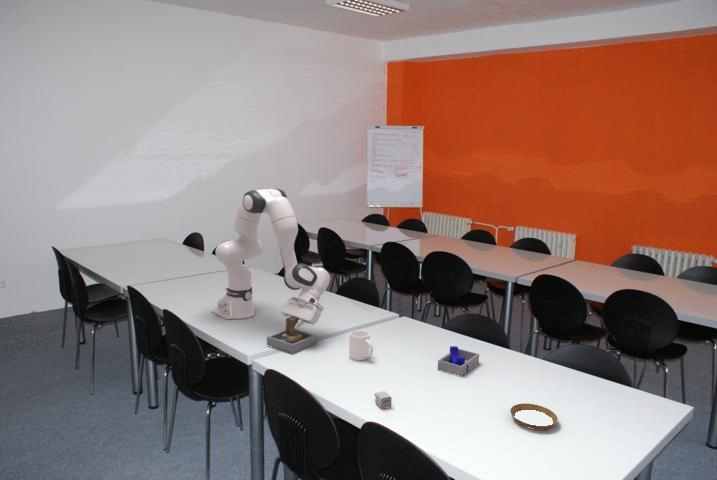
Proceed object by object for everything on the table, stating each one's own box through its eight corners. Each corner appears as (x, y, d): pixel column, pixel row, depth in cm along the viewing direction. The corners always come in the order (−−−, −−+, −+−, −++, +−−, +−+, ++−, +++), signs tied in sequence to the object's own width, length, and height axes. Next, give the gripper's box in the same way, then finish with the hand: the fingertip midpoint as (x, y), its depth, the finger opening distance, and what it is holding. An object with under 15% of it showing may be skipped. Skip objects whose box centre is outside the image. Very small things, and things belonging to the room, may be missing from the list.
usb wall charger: (380, 409, 181) (381, 398, 180) (372, 400, 187) (372, 389, 186) (391, 407, 182) (391, 396, 182) (382, 398, 189) (382, 387, 188)
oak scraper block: (282, 338, 234) (282, 318, 232) (292, 334, 238) (292, 315, 237) (291, 341, 230) (291, 321, 228) (301, 337, 235) (301, 318, 233)
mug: (379, 360, 221) (380, 336, 219) (364, 365, 215) (365, 341, 213) (359, 351, 229) (360, 328, 227) (345, 356, 224) (345, 333, 222)
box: (267, 345, 233) (266, 336, 232) (290, 336, 245) (290, 327, 244) (292, 354, 224) (292, 345, 224) (315, 343, 237) (315, 335, 236)
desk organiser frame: (437, 369, 213) (438, 360, 212) (455, 356, 226) (456, 347, 226) (461, 376, 207) (461, 367, 206) (478, 363, 221) (479, 354, 220)
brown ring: (546, 410, 183) (547, 403, 183) (564, 433, 169) (565, 426, 168) (504, 410, 183) (504, 403, 182) (517, 433, 168) (518, 425, 168)
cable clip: (467, 372, 211) (468, 358, 210) (456, 372, 211) (457, 358, 210) (459, 359, 223) (460, 346, 222) (449, 359, 222) (450, 346, 221)
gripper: (287, 292, 243) (271, 318, 237) (319, 301, 230) (302, 329, 224) (294, 299, 247) (278, 325, 241) (326, 309, 234) (310, 336, 228)
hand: (290, 327), depth 233 cm, fingers closed on oak scraper block, 4 cm apart
